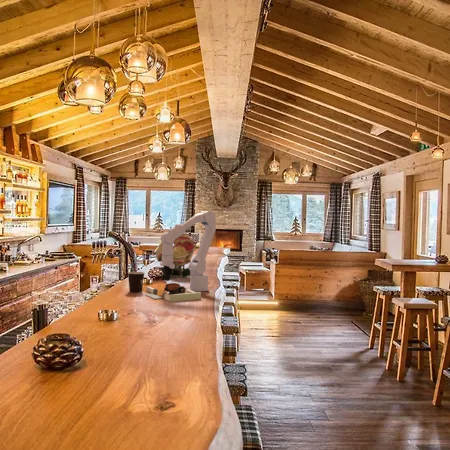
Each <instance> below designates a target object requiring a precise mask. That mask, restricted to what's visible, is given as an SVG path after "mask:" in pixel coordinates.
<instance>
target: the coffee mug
mask: <svg viewBox="0 0 450 450" xmlns="http://www.w3.org/2000/svg"><path fill="white" fill-rule="evenodd" d="M127 276H128V277H127V278H128V288H129V290H128V291H129V293H135V294H137V293H142V292H143V287H144V279H145V272H144V271H128V272H127Z"/></svg>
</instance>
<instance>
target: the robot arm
mask: <svg viewBox="0 0 450 450" xmlns="http://www.w3.org/2000/svg"><path fill="white" fill-rule="evenodd" d="M216 219H217V216H216V214H215V212H213V211H210V210H207V211H206V210H201V211H200V212H198V213H196V214H194V215H193V216H191V217H190V218H189V219H188V220H186V221H185V222H184V223H182V224H180V223H178V224H174V227H172V228H171V229H168V230H167V231H165V232H163V233H162V234H161V237H160V241H161V242H162V244H161V245H162V262H159V266H161V267H160V270H161V272H163V275H164V276H163V279H164V281H165V282H167V281H168V282H169V281H170V279H171V278H170V276H171V273H172V271H173V269H174V268H175V265H174V264H173V246H174V243H173V242H174V241H175V239H176V238H178V237H179V236H181V235H182V234H184V233H186V230H187V229H189V228H190V227H193V226H194V225H196V224H198V223H201V225H203V228H204V229H205V230H204V233H203V235H202V238H201V241H200V244H199V247H198V249H197V252H196V254H195V256H194V257H192V259H191V262H190V263H188V267H189V270H190V271H191V273H190V277H189V278H190V279H189V281H190V282H189V288H187V289H188V290H190V291H193V292H196V293H197V292H207V291H209V278H208V277H209V276H208V275H207V274H206V273H205V272H206V270H207V269H206V268H207V267H206V266H207V259H206V258H207V254H208V252H209V250H210V247H211V244H212V241H213V238H214V236H215V233H216V230H217V223H216Z"/></svg>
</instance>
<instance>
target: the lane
mask: <svg viewBox="0 0 450 450" xmlns="http://www.w3.org/2000/svg"><path fill="white" fill-rule="evenodd" d="M176 289H177V288H176ZM188 289H189V288H187V287H185V293H184V294H172V295H168V294H169V293H167V292H162V296H160V295H158V288H153V287H152V286H146V287H145V291H146V292H147V293H146V294H145V296H146V297H148V298H150V299H152V300H163V299H164V300H166V301H168V302H171V303H172V302H183V301H193V300H194V301H195V300H201V299H202V291H198V292H193V291H190V290H188Z"/></svg>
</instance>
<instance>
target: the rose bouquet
mask: <svg viewBox="0 0 450 450" xmlns="http://www.w3.org/2000/svg"><path fill="white" fill-rule="evenodd" d="M192 237H193V235H192V234H191V235H189V234H188V233H186V232H185V233H184V234H182V235H181V236H179V237H178V238H176V239H175V241H174V242H173V264H174V265H175V268H174V269H173V271H172V273H171V276H170V279H182V278H183V279H185V278H187V279H188V278H190V273H191V271H190V270H189V266H188V267H186V268H185V266H186V265H189V264H190V263H191V262H192V259H193V255H194V252H195V251H198V249H196V248H195V245H196V244H197V242H196V241H195V240H194V239H191V238H192ZM154 255H155V256H156V257H155V258H156V260H157V262H158V263H160V262H162V244H160V245H159V246H158V248H156V251H154Z"/></svg>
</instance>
